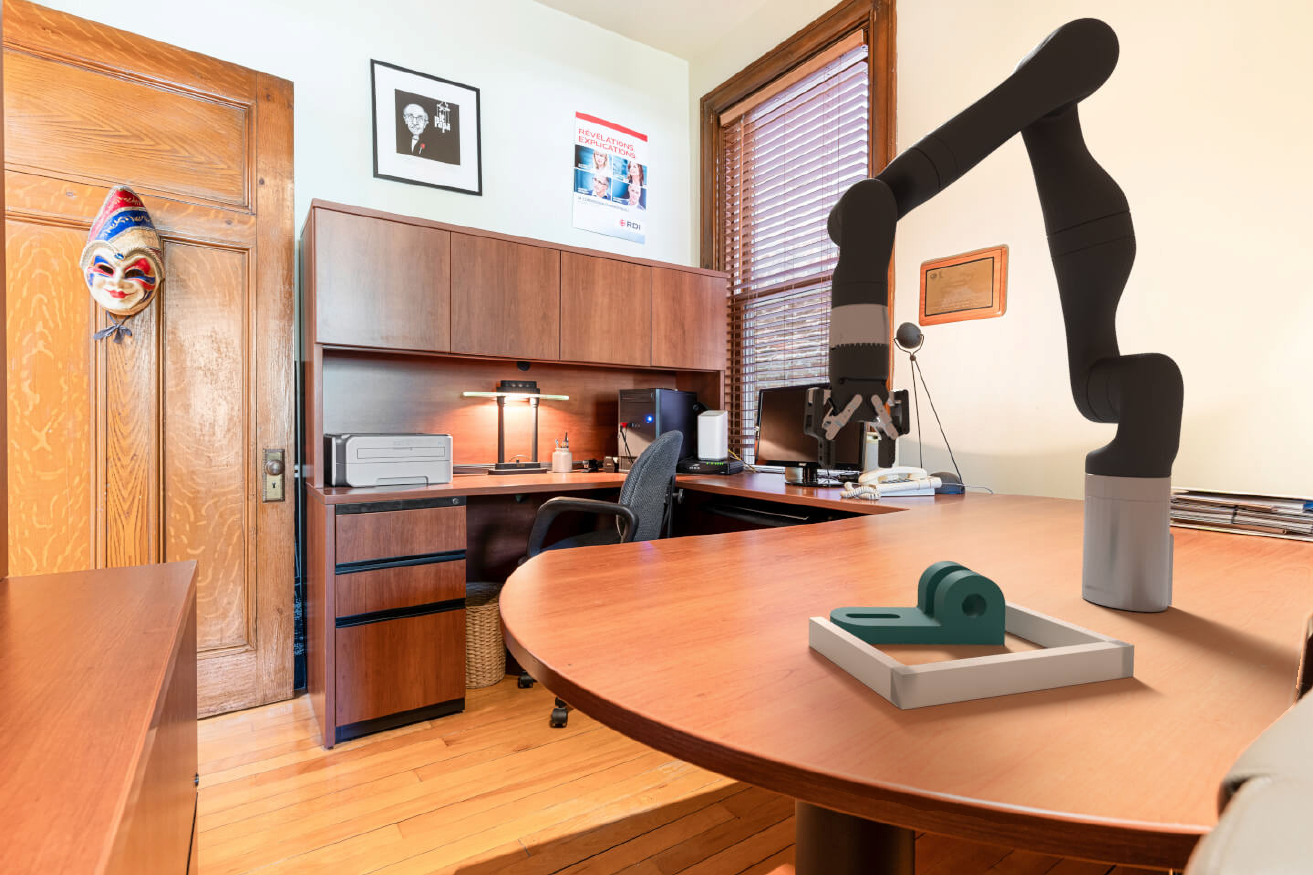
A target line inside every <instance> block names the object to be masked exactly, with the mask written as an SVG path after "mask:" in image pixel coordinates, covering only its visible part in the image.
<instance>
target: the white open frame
mask: <svg viewBox="0 0 1313 875" xmlns="http://www.w3.org/2000/svg"><path fill="white" fill-rule="evenodd" d="M1005 632H1008V633H1010V634H1011V635H1015V636H1017V637H1020V638H1023V639H1024V640H1028V641H1030V642H1032V643H1035V644H1037V645H1040V646H1042V647H1044V649H1043V648H1042V649H1035V650H1026V651H1019V652H1018V651H1017V652H1009V653H1002V654H993V655H992V654H991V655H986V656H979V657H969V658H960V659H953V660H944V661H936V662H929V663H928V662H927V663H919V664H912V665H911V664H910V665H905V664H903V663H902V662H899V661H898V660H896V659H895V658H894V657H893V658H892V657H891V656H889V655H888V654H886V653H884V652H882V651H881V650H879V649H877V648H875V647H874V646H872V644H867V643H866V642H864V641H862V640H860V639H859V638H857V637H855V636H854V635H852V634H850V633H849V632H847V631H845V630H843V629H842V628H840V627H838V626H837V625H835V624H833V623H831V622H830V620H828V619H826V618H825V617H823V616H813V617H808V646H809V647H811V648H812V649H814V650H815V651H816V652H817V653H819V654H821V655H823V656H824V657H825V658H827V659H828V660H829V661H831V662H832V663H834V664H835V665H837V666H838V667H839V668H840V669H843V670H844V671H845V672H846V673H847V674H849V675H851V676H852V677H854V678H856V679H857V680H858V681H860V682H861V683H863V685H865V686H866V687H868V688H870V689H871V690H873V691H874V692H875V693H877V694H878V695H880V696H881V697H882V698H884V699H886V700H887V701H888V702H889V703H891V704H893V705H894V706H896V707H897V708H898V709H900V710H908V709H909V710H911V709H917V708H922V707H924V708H925V707H931V706H936V705H944V704H951V703H958V702H966V701H973V700H979V699H986V698H993V697H998V696H1001V697H1002V696H1005V695H1007V696H1008V695H1013V694H1014V695H1015V694H1020V693H1027V692H1035V691H1041V690H1048V689H1055V688H1061V687H1069V686H1075V685H1083V684H1088V683H1089V684H1090V683H1096V682H1102V681H1103V682H1104V681H1111V680H1118V679H1123V678H1124V679H1125V678H1130V677H1131V678H1132V677H1134V674H1135V673H1134V668H1135V664H1134V663H1135V645H1134V644H1131V643H1129V642H1126V641H1124V640H1119V639H1117V638H1114V637H1111V636H1109V635H1105V634H1104V633H1103V634H1102V633H1100V632H1098V631H1094V630H1091V629H1088V628H1086V627H1083V626H1080V625H1077V624H1075V623H1072V622H1068V621H1065V620H1063V619H1059V618H1056V617H1054V616H1051V615H1048V614H1046V613H1042V612H1039V611H1037V610H1034V609H1032V608H1029V607H1026V606H1023V605H1019V604H1016V603H1014V602H1012V601H1008V600H1006V599H1005Z"/></svg>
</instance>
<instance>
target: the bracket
mask: <svg viewBox="0 0 1313 875" xmlns="http://www.w3.org/2000/svg"><path fill="white" fill-rule="evenodd" d="M1005 600H1006V599H1005V595H1004V592H1003V591H1002V589H1001V588H1000V586H999V585H998V584H997V582H995V581H993V580H992V579H990V578H988V577H986V576H985V575H982V574H981V573H978V572H976V571H974V570H972V569H970V568H968V567H966V566H964V565H962V564H960V563H958V562H955V561H952V560H941V561H937V562H935V563H933V564H931V565H929V566H928V567H927V568H926V569H925V570H924V571H923V573H922V574H921V575H920V577H919V580H918V584H917V605H916V606H915V607H914V606H913V607H912V606H907V607H905V606H843V607H837V608H834V609H832V610H830V611H829V621H830V622H831V623H833V624H835V625H837V626H838V627H840V628H842V629H843V630H845V631H847V632H849V633H850V634H852V635H854V636H855V637H857V638H859V639H860V640H862V641H864V642H866V643H867V644H869V645H925V646H927V645H929V646H931V645H935V646H936V645H939V646H940V645H941V646H942V645H943V646H945V645H946V646H947V645H949V646H952V645H953V646H955V645H956V646H962V645H963V646H1005V644H1006V642H1005V640H1006V638H1005V637H1006V631H1005Z"/></svg>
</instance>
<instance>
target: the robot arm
mask: <svg viewBox="0 0 1313 875" xmlns="http://www.w3.org/2000/svg"><path fill="white" fill-rule="evenodd" d="M1120 50H1121V49H1120V42H1119V38H1118V34H1116V32H1115V30H1114V29H1113V27H1112V26H1111V25H1109V24H1108V23H1107V22H1105V21H1103V20H1101V19H1098V18H1095V17H1081V18H1078V19H1074V20H1071V21H1068V22H1066V23H1064V24H1062V25H1061V26H1058V27H1057V28H1056V29H1054V30H1053V31H1052V32H1051V33H1049V34H1048V35H1047V36H1045V37H1044V38H1043V39H1042V40H1041V41H1040V42H1039V43H1037V44H1036V45H1035V46H1034V47H1033V48H1032V49H1031V50H1030V51H1028V52H1027V53H1026V54H1025V55H1024V56H1023V57H1022V58H1021V59H1020V60H1019V62H1018V63H1017V64H1016V65H1015V66H1014V69H1013V70H1012V73H1011V75H1009V77H1007V78H1006V79H1005V80H1003V81H1002V82H1001V83H999V84H998V85H997V86H996V87H994V88H993V89H991V90H990V91H989V92H987V93H986V94H984V95H983V96H982V97H980V98H978V99H977V100H976V101H974V102H973V103H971V104H969V105H968V106H967V107H965V108H964V109H962V110H961V111H959V112H958V113H956V114H955V115H953V116H952V117H950V118H948V120H946V121H944V122H943V123H942V124H940V125H938V126H937V127H935V128H934V129H933V130H931V131H930V132H928V133H927V134H925V135H924V136H923V137H921V138H919V139H918V140H916V141H915V142H914V143H913V144H911V145H910V146H908V147H907V148H906V149H904V150H903V151H901V153H900V154H898V155H897V156H896V157H895V158H894V159H892V160H891V161H890V163H889V164H888V165H887V166H886V167H885V168H884V169H883V170H882V171H881V172H880V173H879V174H877V175H876V176H874V177H873V178H872V177H870V178H864V179H861V180H858V181H856V182H855V183H853V184H852V185H850V186H849V187H848V188H847V189H846V190H845V191H844V193H843V194H842V195H841V196H840V198H839V199H838V200H837V201H836V202H835V204H834V205H833V206H832V208H831V210H830V211H829V214H828V217H827V221H826V222H827V223H826V230H827V234H828V237H829V238H830V240H831V242H833V243H834V245H836V246H838V247H839V254H838V261H837V264H836V265H835V267H834V270H833V273H832V278H831V288H830V289H831V290H830V291H831V292H830V294H831V297H830V298H831V299H830V300H831V302H830V318H829V325H828V361H827V362H828V364H827V369H828V370H827V375H828V376H827V377H828V380H829V385H828V388H827V389H823V387H811V388H808V389H806V392H805V405H804V418H803V419H804V420H803V432H804V434H805V435H809V436H811V437H813V438H816V439H817V445H818V446H817V462H818V464H819V465H820V467H821V470H827V471H829V470H830V471H831V470H832V471H833V470H836V469H835V467H836V440H833V439H834V438H835V436H836V435H837V433H838V432H839V431H840V429H841V428H843V427H844V426H845V425H846V424H847V423H849V422H850V423H857V422H858V423H868V424H869V426H870V427H872V428H873V429H874V431H875V432H876V433H877V435H878V438H879V439H877V467H878V468H880V469H892V468H893V467H894V466H893V465H894V464H895V462H896V448H897V446H896V444H897V443H896V442H897V439H898V438H900V437H901V436H904V435H906V436H907V435H909V434H910V433H911V422H910V421H911V420H910V419H911V418H910V394H909V391H908V390H907V389H906V388H903V389H902V388H900V389H892V390H888V387H887V381H888V379H889V377H890V342H891V341H890V337H891V336H890V333H891V331H890V330H891V328H890V326H891V325H890V316H889V269H890V268H889V267H890V264H891V260H892V255H893V249H894V243H895V239H896V232H897V226H898V222H899V221H901V220H902V219H903V218H904V217H905V216H907V214H909V213H910V212H912V211H913V210H915V209H916V208H918V207H920V206H922V205H924V204H925V203H926V202H928V201H929V200H931V199H932V198H935V196H937V195H939V194H940V193H941V192H942V191H944V190H946V189H947V188H948V187H949V186H951V185H952V184H954V183H955V182H957V181H958V180H959V179H960V178H962V177H963V176H964V175H966V174H967V173H969V172H970V171H971V170H973V168H975V167H976V166H977V165H978V164H980V163H981V162H982V161H984V160H985V159H986V158H987V157H989V156H990V155H991V154H992V153H994V152H995V151H996V150H997V149H999V148H1000V147H1002V146H1003V145H1004V144H1005V143H1006V142H1008V141H1009V140H1010V139H1012V138H1013V137H1015V136H1016V135H1018V133H1020V135H1021V137H1022V140H1023V143H1024V146H1025V150H1026V152H1027V155H1028V158H1029V162H1030V165H1031V170H1032V173H1033V178H1034V183H1035V187H1036V190H1037V195H1038V199H1039V204H1040V208H1041V212H1042V218H1043V222H1044V224H1043V225H1044V230H1045V236H1046V240H1047V241H1046V242H1047V245H1048V249H1049V250H1048V251H1049V253H1050V254H1049V255H1050V260H1051V263H1052V266H1053V271H1054V274H1055V278H1056V283H1057V288H1058V294H1059V299H1060V300H1059V301H1060V305H1061V311H1062V317H1063V324H1064V329H1065V330H1064V331H1065V338H1066V348H1067V361H1068V373H1069V383H1070V390H1071V394H1072V395H1071V396H1072V399H1073V402H1074V404H1075V406H1076V409H1077V410H1078V412H1079V413H1080V414H1081V415H1082V417H1084V419H1086V420H1088V421H1089V422H1092V423H1096V424H1113V425H1115V424H1117V428H1116V434H1115V435H1114V438H1113V439H1111V441H1110V442H1109V443H1108V444H1106V445H1104V446H1102V447H1100V448H1097V449H1095V450H1091V451H1089V452H1088V453H1087V454H1086V457H1085V462H1084V490H1083V491H1084V492H1083V493H1084V496H1083V497H1084V498H1083V499H1084V502H1083V535H1082V536H1083V539H1082V540H1083V542H1082V567H1081V568H1082V574H1081V575H1082V576H1081V598H1083V599H1084V600H1087V601H1088V602H1091V603H1094V604H1097V605H1101V606H1105V607H1108V608H1112V609H1113V608H1114V609H1118V610H1123V611H1124V610H1126V611H1135V612H1147V613H1149V612H1150V613H1151V612H1155V613H1156V612H1157V613H1158V612H1163V611H1166V610H1167V609H1168V607H1169V606H1172V605H1173V583H1174V582H1173V581H1174V580H1173V579H1174V577H1173V576H1174V574H1173V573H1174V549H1175V548H1174V547H1175V546H1174V543H1175V537H1174V535H1173V533H1171V507H1172V506H1171V505H1172V502H1171V500H1172V499H1171V497H1172V471H1173V470H1172V469H1173V464H1174V462H1175V460H1176V458H1177V457H1178V456H1177V455H1178V453H1179V449H1180V442H1181V441H1180V440H1181V430H1182V422H1183V420H1182V419H1183V413H1184V412H1183V410H1184V409H1183V408H1184V399H1185V398H1184V397H1185V385H1184V378H1183V374H1182V371H1181V369H1180V367H1179V365H1178V363H1177V362H1176V361H1175V360H1174V359H1173V358H1171V356H1168V355H1167V354H1163V353H1161V352H1141V353H1133V354H1132V353H1131V354H1122V355H1121V352H1120V348H1119V343H1118V336H1117V328H1116V320H1117V319H1116V318H1117V315H1116V314H1117V311H1118V307H1119V303H1120V300H1121V298H1122V296H1123V293H1124V290H1125V288H1126V285H1127V283H1128V280H1129V278H1130V275H1131V272H1132V269H1133V267H1134V264H1135V260H1136V255H1137V240H1136V234H1135V229H1134V228H1135V227H1134V224H1133V218H1132V212H1131V208H1130V204H1129V202H1128V199H1127V196H1126V194H1125V192H1124V191H1123V189H1122V188H1121V186H1120V185H1119V183H1117V182H1116V180H1115V179H1114V178H1113V177H1112V176H1111V175H1110V174H1109V173H1108V172H1107V171H1106V169H1104V167H1103V166H1102V165H1101V164H1100V163H1099V162H1098V161H1097V160H1096V159H1095V158H1094V156H1093V155H1092V154H1091V152H1090V151H1089V148H1088V146H1087V144H1086V141H1085V139H1084V136H1083V135H1084V134H1083V131H1082V126H1081V123H1080V122H1081V121H1080V115H1079V107H1078V106H1079V104H1080V103H1081V102H1083V101H1084V100H1087V99H1088V98H1089V97H1090V96H1092V95H1093V94H1095V92H1097V91H1099V89H1100V88H1101V87H1103V85H1104V84H1106V82H1107V81H1108V80H1109V78H1111V76H1112V74H1113V73H1114V71H1115V70H1116V67H1117V64H1118V62H1119V57H1120V54H1121V52H1120ZM827 402H828V403H829V404H830V406H831V408H830V409H829V411H828V412H827V414H826V415H825V416H824V405H826V403H827ZM886 403H887V404H888V406H889V413H888V411H887V409H886V408H885V405H886ZM823 417H824V418H823Z"/></svg>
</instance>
